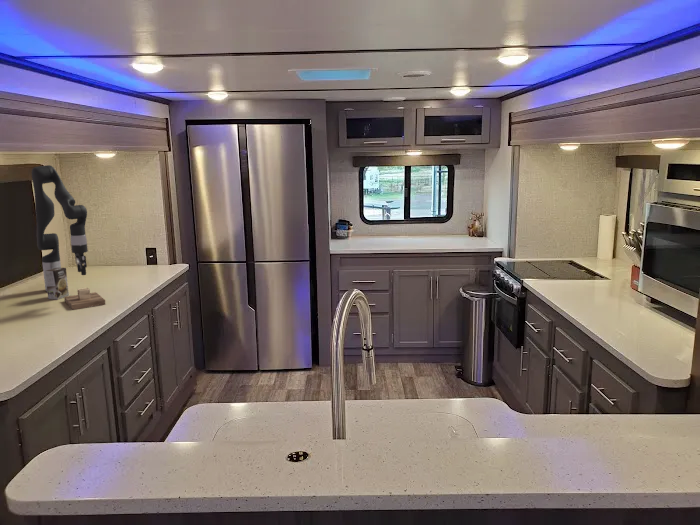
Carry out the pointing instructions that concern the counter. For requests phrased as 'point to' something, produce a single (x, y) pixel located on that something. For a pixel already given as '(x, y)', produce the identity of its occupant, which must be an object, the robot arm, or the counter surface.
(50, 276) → the coffee box
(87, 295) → the maple cube
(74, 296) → the walnut base
